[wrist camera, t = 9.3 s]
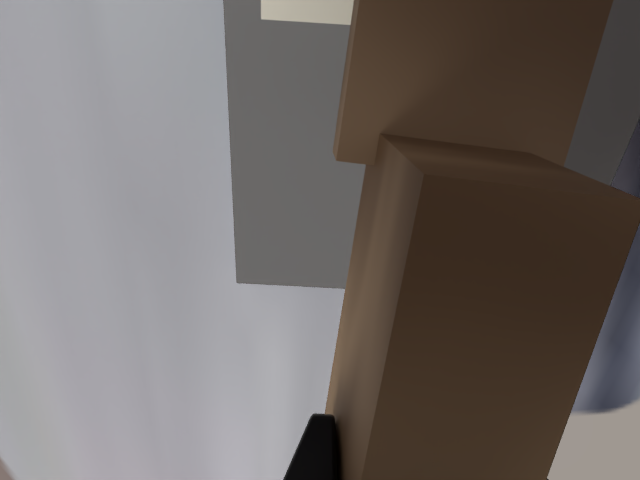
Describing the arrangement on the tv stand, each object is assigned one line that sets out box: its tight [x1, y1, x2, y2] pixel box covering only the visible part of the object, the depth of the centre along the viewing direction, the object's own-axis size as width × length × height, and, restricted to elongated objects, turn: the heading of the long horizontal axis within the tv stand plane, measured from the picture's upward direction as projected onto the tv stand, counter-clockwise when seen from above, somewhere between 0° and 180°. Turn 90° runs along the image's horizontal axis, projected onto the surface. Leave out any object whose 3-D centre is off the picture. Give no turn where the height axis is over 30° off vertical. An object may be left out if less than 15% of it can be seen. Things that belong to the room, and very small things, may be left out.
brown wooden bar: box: [325, 0, 640, 480], centre depth 8 cm, size 18×4×4 cm, turn 172°
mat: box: [223, 0, 640, 289], centre depth 11 cm, size 16×10×1 cm, turn 177°
